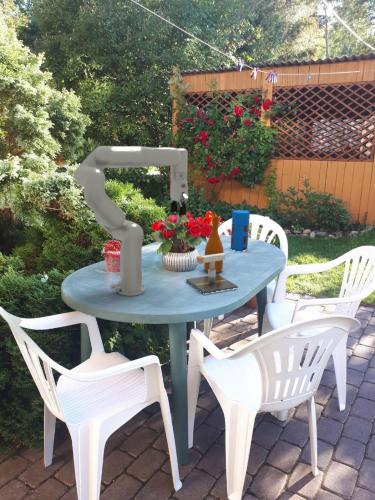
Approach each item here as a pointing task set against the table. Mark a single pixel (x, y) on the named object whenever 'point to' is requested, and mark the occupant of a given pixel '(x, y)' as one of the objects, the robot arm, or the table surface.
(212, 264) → the t handle
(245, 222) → the thermos
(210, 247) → the wine bottle
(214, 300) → the table surface
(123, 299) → the table surface
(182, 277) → the table surface
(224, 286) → the post base
